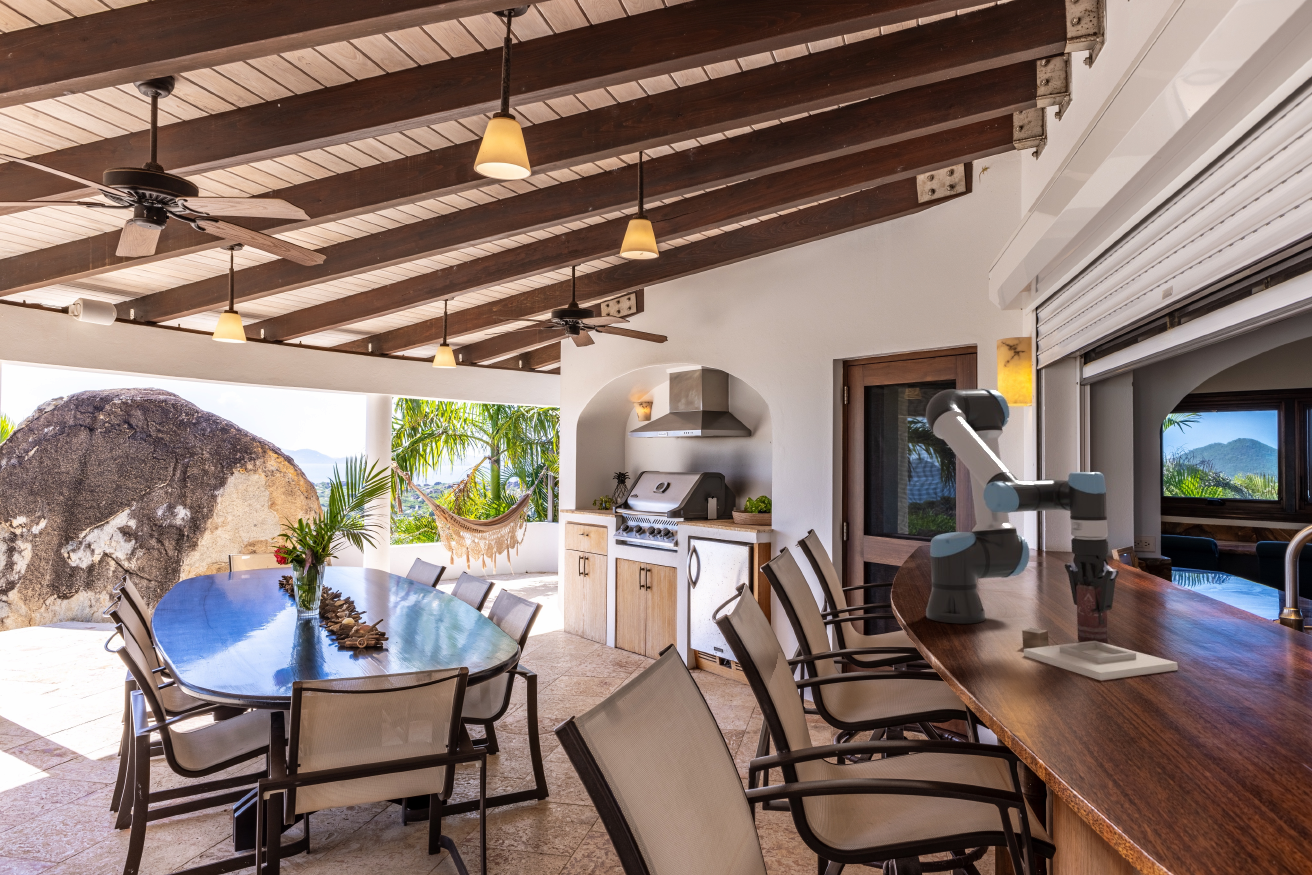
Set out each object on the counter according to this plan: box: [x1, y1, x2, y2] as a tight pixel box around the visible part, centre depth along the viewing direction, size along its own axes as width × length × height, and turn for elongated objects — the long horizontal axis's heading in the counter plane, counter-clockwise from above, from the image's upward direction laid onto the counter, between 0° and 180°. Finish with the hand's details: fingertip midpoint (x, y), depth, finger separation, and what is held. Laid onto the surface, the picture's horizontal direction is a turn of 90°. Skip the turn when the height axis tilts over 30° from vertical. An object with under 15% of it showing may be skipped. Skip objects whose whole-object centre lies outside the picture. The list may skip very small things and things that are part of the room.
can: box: [1076, 583, 1109, 644], centre depth 174 cm, size 6×6×14 cm
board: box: [1023, 641, 1178, 681], centre depth 158 cm, size 20×20×3 cm
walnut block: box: [1021, 627, 1050, 649], centre depth 172 cm, size 4×4×4 cm
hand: (1093, 638), depth 173 cm, fingers closed
